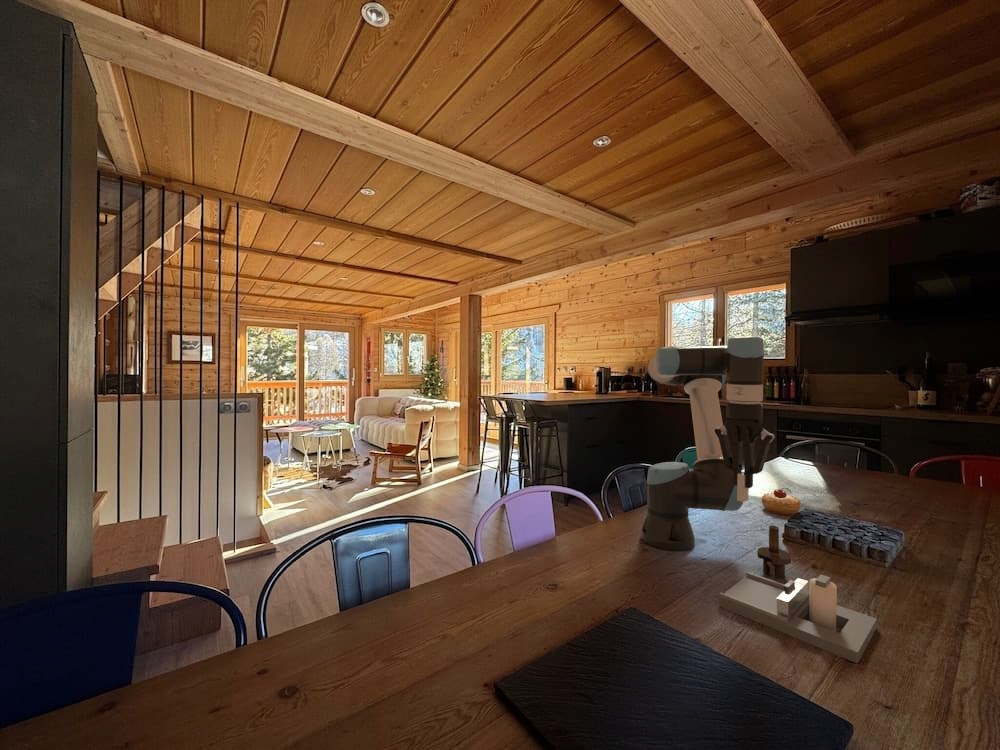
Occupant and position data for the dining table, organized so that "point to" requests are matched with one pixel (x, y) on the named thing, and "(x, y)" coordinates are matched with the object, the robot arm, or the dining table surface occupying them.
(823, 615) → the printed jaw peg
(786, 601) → the lock bar
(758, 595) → the housing plate
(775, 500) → the pastry
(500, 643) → the dining table surface
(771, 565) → the industrial component
